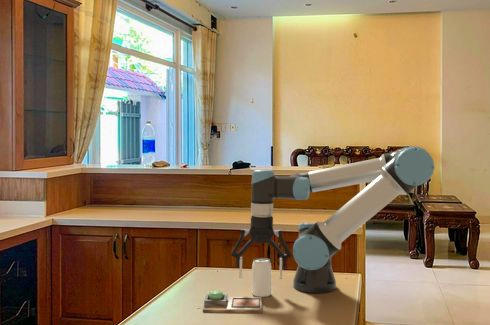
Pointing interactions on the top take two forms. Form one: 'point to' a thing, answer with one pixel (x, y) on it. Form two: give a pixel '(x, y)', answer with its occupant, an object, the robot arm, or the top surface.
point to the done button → (216, 295)
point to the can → (261, 277)
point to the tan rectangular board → (233, 304)
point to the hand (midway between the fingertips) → (260, 277)
